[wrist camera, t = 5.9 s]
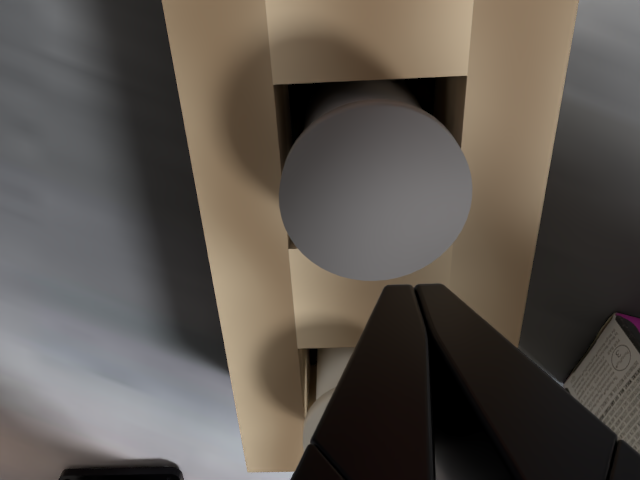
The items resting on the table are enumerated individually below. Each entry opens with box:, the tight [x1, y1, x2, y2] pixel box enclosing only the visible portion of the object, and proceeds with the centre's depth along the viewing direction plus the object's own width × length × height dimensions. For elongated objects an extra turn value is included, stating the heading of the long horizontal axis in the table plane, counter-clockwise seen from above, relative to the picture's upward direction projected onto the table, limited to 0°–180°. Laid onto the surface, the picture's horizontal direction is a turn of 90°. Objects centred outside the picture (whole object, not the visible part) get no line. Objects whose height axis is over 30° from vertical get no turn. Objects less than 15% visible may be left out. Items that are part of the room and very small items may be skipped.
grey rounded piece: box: [279, 79, 472, 281], centre depth 16 cm, size 5×5×6 cm
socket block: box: [162, 0, 579, 472], centre depth 17 cm, size 10×26×4 cm, turn 3°
